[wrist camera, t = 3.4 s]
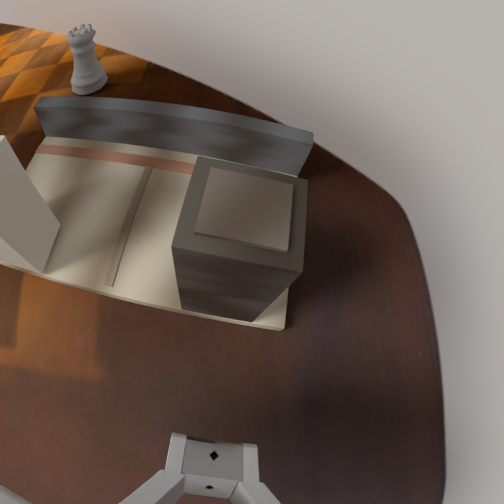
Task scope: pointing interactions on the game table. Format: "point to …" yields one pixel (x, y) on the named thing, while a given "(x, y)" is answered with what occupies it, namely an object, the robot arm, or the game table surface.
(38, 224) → the ivory key
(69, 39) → the rook chess piece
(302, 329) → the game table surface
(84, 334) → the game table surface
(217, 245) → the ebony key
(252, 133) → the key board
